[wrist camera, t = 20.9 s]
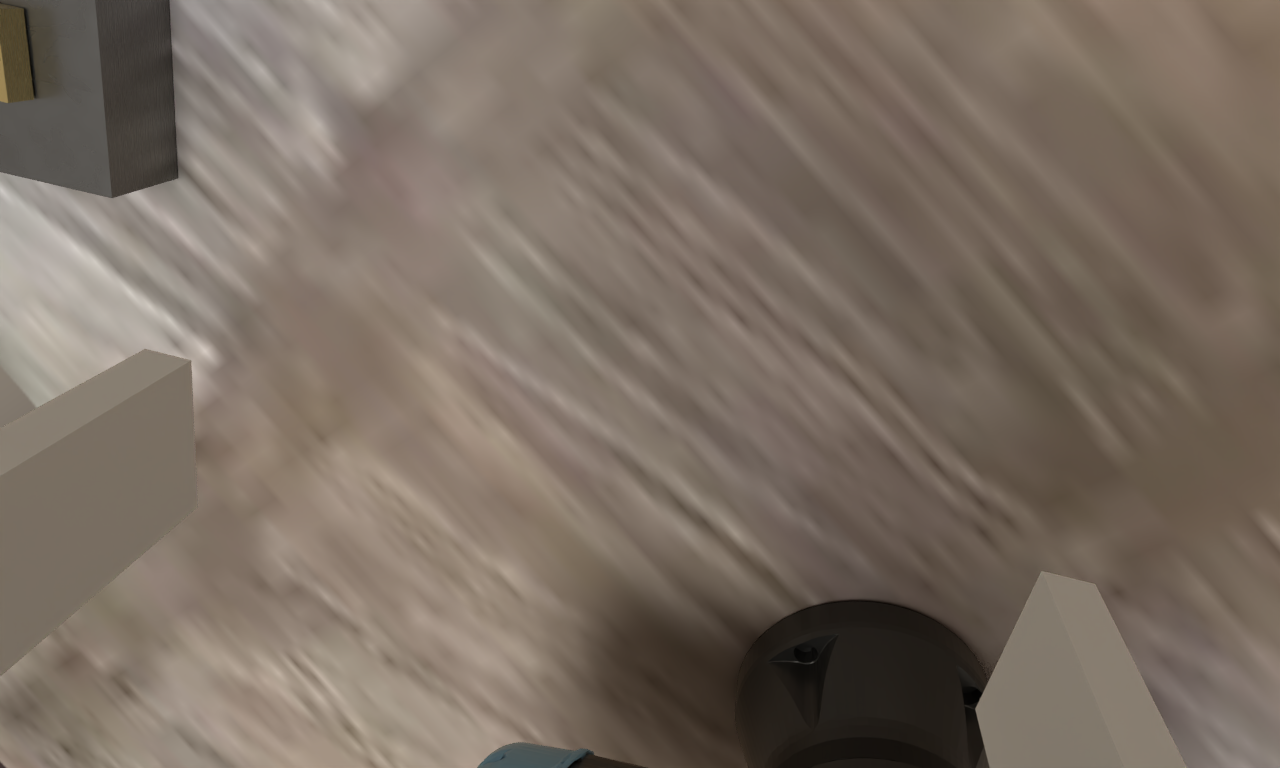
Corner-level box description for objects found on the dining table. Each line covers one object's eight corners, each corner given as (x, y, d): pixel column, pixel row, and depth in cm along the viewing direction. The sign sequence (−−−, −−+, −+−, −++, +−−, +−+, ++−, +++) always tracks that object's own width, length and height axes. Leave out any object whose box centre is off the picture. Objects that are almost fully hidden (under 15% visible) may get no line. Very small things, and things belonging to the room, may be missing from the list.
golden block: (105, 89, 45) (8, 103, 40) (17, 69, 46) (-92, 80, 40) (98, 6, 43) (-5, 9, 38) (7, -14, 44) (-109, -14, 38)
